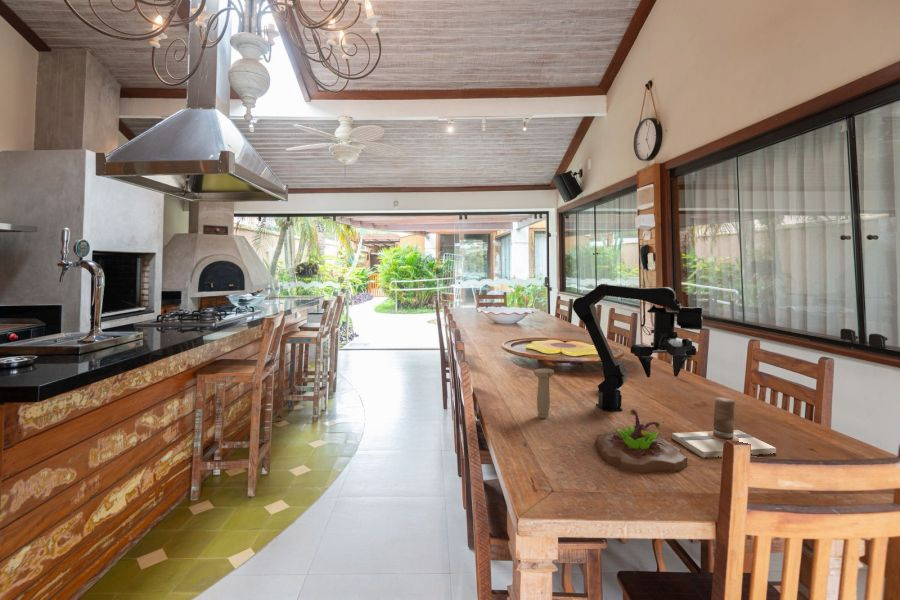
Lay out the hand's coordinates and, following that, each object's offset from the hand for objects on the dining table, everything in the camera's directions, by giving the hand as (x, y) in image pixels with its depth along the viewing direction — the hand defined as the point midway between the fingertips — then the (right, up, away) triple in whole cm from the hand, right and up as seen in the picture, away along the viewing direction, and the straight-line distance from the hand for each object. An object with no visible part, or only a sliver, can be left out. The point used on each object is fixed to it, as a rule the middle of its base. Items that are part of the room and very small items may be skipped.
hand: (662, 376), depth 132 cm
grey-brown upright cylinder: (+7, -13, -18) cm, 23 cm away
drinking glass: (-3, -11, +31) cm, 33 cm away
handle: (-37, -13, +1) cm, 39 cm away
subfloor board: (+5, -15, -21) cm, 26 cm away
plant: (-19, -15, -25) cm, 35 cm away
